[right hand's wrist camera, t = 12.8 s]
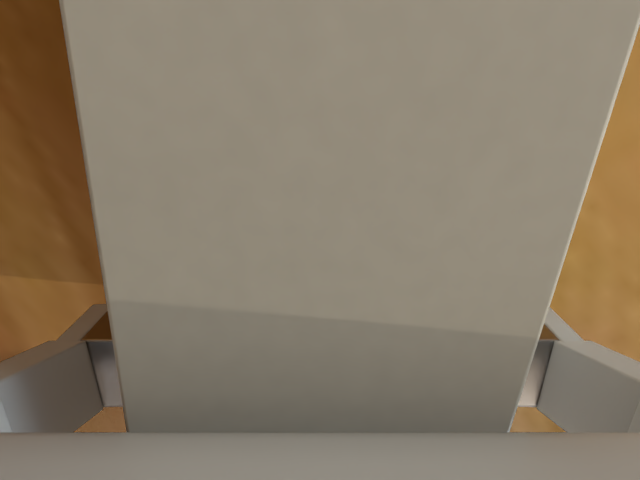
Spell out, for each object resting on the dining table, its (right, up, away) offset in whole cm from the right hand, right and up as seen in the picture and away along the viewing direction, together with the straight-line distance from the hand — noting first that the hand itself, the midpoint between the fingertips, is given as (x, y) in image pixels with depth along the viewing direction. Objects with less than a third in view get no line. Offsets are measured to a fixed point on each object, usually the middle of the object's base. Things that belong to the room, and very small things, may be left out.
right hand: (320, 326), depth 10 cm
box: (0, +11, +5) cm, 12 cm away
